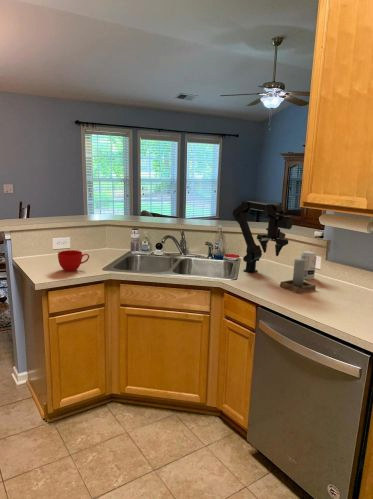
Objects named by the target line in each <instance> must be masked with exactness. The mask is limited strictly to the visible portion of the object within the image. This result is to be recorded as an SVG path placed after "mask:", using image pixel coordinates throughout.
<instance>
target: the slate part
mask: <svg viewBox="0 0 373 499" xmlns="http://www.w3.org/2000/svg"><path fill="white" fill-rule="evenodd" d="M293 262H294V264H293V277H292V280H293V286H296V287H299V288H301V287H303V281H304V280H305V279H304V270H305V260H303V259H301V258H294V261H293Z"/></svg>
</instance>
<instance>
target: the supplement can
mask: <svg viewBox="0 0 373 499" xmlns="http://www.w3.org/2000/svg"><path fill="white" fill-rule="evenodd" d="M300 259H303V260H305V270H304V280H313V279H315V272H316V262H317V253H316V251H312V250H303V251H302V252H301V254H300Z"/></svg>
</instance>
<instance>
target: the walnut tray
mask: <svg viewBox="0 0 373 499" xmlns="http://www.w3.org/2000/svg"><path fill="white" fill-rule="evenodd" d="M279 287H281V288H283V289H286V290H289V291H291V292H294V293H296V294H299V295H301V294H303V293H307V292H313V291H316V288H317V285H316V284H313V283H310V282H309V281H303V287H301V288H299V287H296V286H293V279H288V280H284V281H280V286H279Z"/></svg>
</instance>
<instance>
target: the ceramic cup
mask: <svg viewBox="0 0 373 499" xmlns="http://www.w3.org/2000/svg"><path fill="white" fill-rule="evenodd" d="M85 256H87V258H86V259H85V260H83V257H85ZM57 258H58V264H59V266H60V267H61V269H62V270H63V271H64V272H66V273H69V272H70V273H71V272H77V270H78V269H79V267H81V265H82V264H84V263H86V262H88V260H89V259H90V255H89V254H88V253H83V252H82V251H80V250H72V249H71V250H69V249H68V250H62V251H58V252H57ZM82 260H83V261H82Z"/></svg>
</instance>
